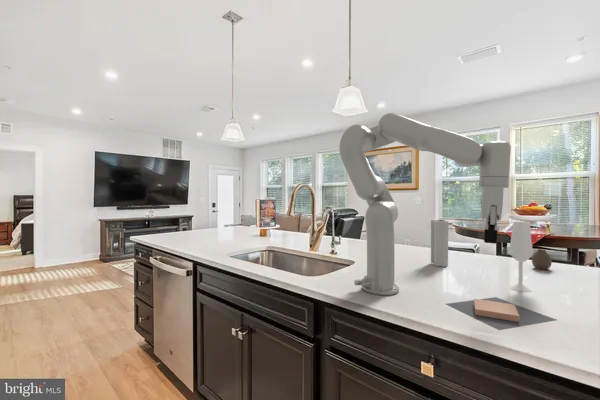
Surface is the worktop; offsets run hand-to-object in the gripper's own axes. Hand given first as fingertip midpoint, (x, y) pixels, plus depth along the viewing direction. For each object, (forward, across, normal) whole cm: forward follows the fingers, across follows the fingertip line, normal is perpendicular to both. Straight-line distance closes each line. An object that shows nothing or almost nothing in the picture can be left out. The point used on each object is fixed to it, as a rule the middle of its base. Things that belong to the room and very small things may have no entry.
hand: (490, 242), depth 91 cm
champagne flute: (+19, -23, +12) cm, 32 cm away
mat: (+19, +6, +2) cm, 20 cm away
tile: (+18, +4, +2) cm, 18 cm away
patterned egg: (+18, -61, +24) cm, 68 cm away
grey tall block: (+20, -47, -16) cm, 54 cm away
